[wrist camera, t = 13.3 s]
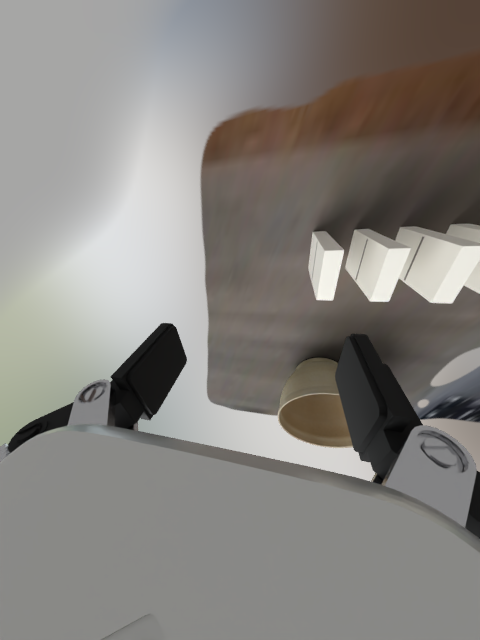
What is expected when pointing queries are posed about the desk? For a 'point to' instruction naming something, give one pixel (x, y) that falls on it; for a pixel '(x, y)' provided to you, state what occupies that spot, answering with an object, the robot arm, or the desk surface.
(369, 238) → the domino
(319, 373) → the planter bowl
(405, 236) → the domino
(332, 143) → the desk surface
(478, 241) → the domino
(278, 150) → the desk surface
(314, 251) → the domino
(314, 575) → the robot arm
